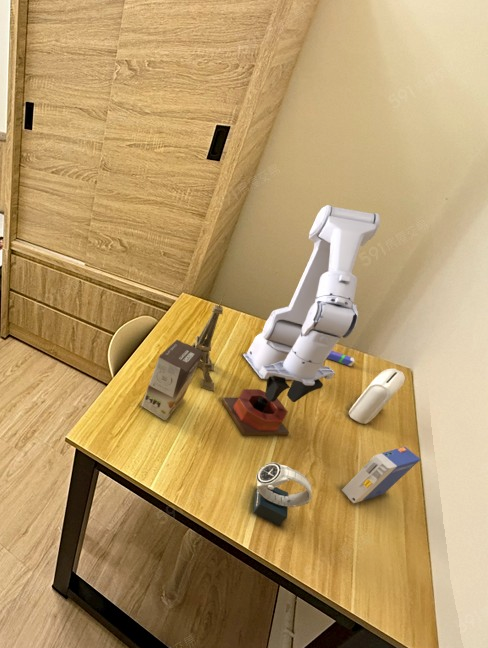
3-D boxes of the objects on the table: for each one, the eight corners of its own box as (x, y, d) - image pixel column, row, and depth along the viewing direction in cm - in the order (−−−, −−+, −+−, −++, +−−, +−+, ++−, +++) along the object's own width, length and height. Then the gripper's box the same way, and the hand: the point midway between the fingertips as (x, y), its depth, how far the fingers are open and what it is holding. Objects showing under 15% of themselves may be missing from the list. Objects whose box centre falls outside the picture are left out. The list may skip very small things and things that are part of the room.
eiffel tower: (171, 352, 112) (200, 276, 98) (213, 364, 108) (249, 287, 94) (168, 377, 104) (199, 299, 90) (213, 391, 101) (252, 311, 86)
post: (221, 400, 98) (230, 383, 95) (261, 401, 98) (271, 384, 95) (242, 435, 90) (253, 418, 86) (286, 435, 90) (299, 418, 87)
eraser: (350, 367, 109) (354, 361, 108) (324, 357, 112) (327, 352, 110) (350, 363, 110) (354, 357, 109) (324, 354, 113) (327, 348, 112)
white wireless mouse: (361, 396, 100) (390, 360, 93) (382, 408, 97) (414, 372, 90) (343, 414, 95) (373, 378, 88) (365, 427, 92) (397, 390, 85)
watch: (244, 484, 80) (267, 451, 74) (291, 506, 77) (319, 473, 71) (241, 507, 76) (265, 474, 70) (291, 532, 73) (320, 499, 67)
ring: (227, 398, 97) (232, 388, 95) (265, 399, 97) (271, 389, 95) (247, 430, 90) (253, 420, 88) (288, 431, 90) (295, 421, 88)
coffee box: (165, 422, 92) (186, 372, 83) (140, 406, 96) (157, 356, 87) (182, 400, 98) (204, 351, 89) (158, 386, 102) (176, 338, 92)
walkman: (369, 481, 81) (405, 445, 75) (383, 494, 79) (422, 458, 72) (339, 490, 80) (373, 453, 73) (353, 503, 77) (389, 467, 71)
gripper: (285, 367, 79) (258, 412, 87) (357, 368, 79) (324, 413, 87) (265, 343, 85) (240, 388, 93) (332, 344, 85) (302, 388, 93)
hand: (279, 398), depth 90 cm, fingers open, 4 cm apart
